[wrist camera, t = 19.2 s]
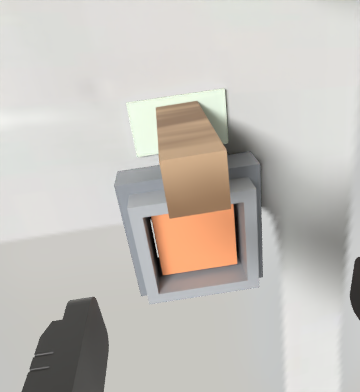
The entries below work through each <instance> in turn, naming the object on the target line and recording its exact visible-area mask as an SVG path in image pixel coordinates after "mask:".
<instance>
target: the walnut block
mask: <svg viewBox="0 0 360 392" xmlns="http://www.w3.org/2000/svg"><path fill="white" fill-rule="evenodd" d="M156 121H157V136H158V152H159V163H160V169H161V174H162V180H163V186H164V191H165V197H166V202H167V208H168V214H169V219H172V218H178V217H184V216H190V215H197V214H203V213H209V212H215V211H222V210H228V209H231V199H230V186H229V174H228V161H227V150H226V148H225V147H224V145H223V143H222V142H221V140H220V138H219V137H218V135H217V133H216V132H215V130H214V128H213V127H212V125H211V123H210V122H209V120H208V118H207V117H206V115H205V113H204V112H203V110H202V108H201V106H200V105H199V103H198V101H192V102H186V103H180V104H173V105H167V106H161V107H156Z"/></svg>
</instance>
